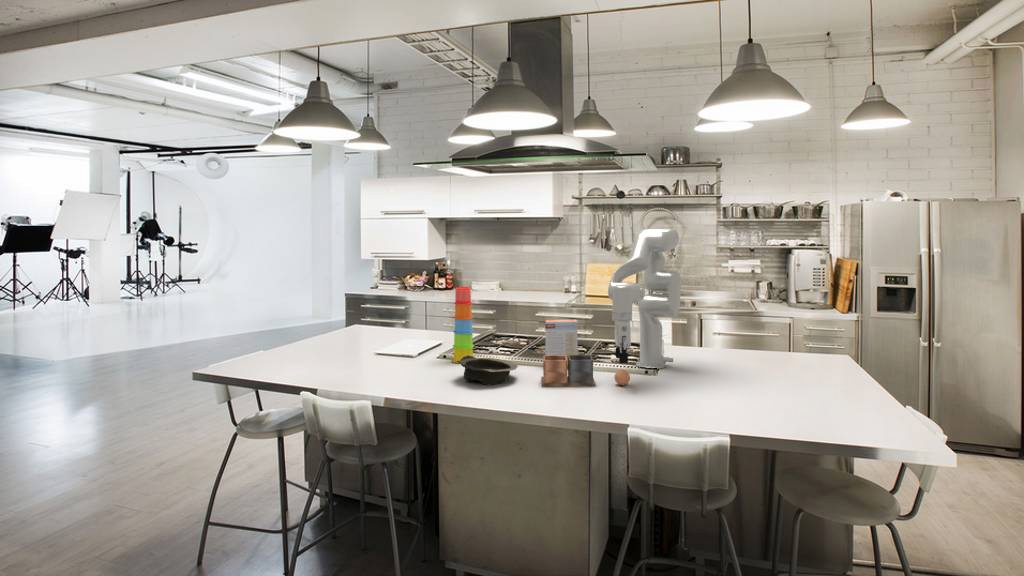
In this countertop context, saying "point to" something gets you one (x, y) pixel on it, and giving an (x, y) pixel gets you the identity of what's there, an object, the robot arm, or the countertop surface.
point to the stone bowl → (486, 369)
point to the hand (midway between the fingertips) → (621, 360)
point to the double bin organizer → (577, 371)
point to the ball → (622, 377)
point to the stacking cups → (463, 324)
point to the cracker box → (561, 337)
